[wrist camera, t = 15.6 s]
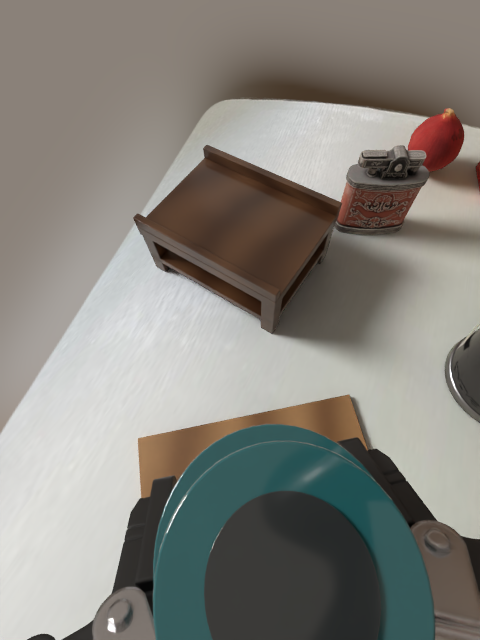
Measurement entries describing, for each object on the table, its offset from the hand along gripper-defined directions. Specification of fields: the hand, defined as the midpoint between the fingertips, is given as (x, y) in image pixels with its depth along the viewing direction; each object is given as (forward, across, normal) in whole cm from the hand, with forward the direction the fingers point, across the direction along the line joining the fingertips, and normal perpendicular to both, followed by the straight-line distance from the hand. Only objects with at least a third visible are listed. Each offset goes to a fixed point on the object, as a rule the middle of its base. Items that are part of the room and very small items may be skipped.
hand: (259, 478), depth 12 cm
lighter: (+32, -19, -4) cm, 37 cm away
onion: (+37, -29, -9) cm, 48 cm away
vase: (+2, 0, +5) cm, 5 cm away
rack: (+30, -3, -3) cm, 31 cm away
